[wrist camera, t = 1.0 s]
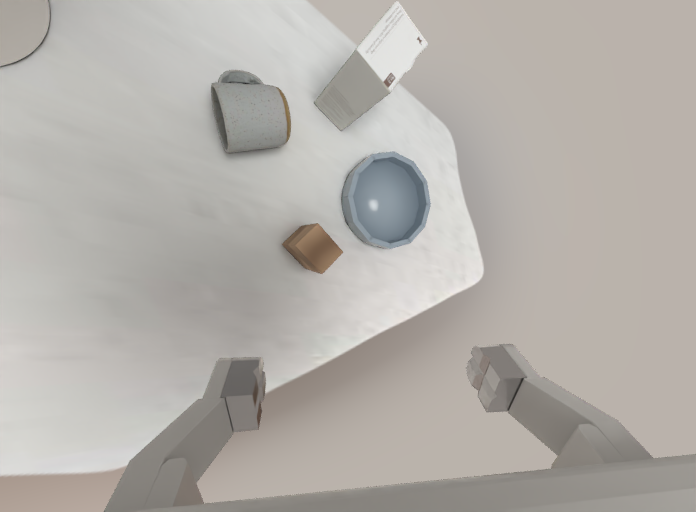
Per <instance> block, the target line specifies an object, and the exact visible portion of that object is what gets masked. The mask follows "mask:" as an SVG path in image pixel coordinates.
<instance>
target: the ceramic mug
mask: <svg viewBox="0 0 696 512" xmlns="http://www.w3.org/2000/svg"><path fill="white" fill-rule="evenodd" d="M229 82H241V83H249V84H235V83H229ZM211 95H212V103H213V109H214V115H215V119H216V123H217V128H218V132H219V135H220V139H221V142H222V144H223V147H224V149H225V151H226V152H228V153H233V152H240V151H249V150H257V149H264V148H274V147H278V146H281V145H284V144H285V143H286V142H287V141H288V139H289V137H290V132H291V119H290V112H289V107H288V104H287V101H286V98H285V96H284V94H283V93H282V91H281V90H280V89H279V88H277V87H274V86H270V85H264V84H263V82H262V81H261V80H260V79H259V78H258V77H257V76H255V75H253V74H251V73H249V72H246V71H241V70H229V71H226V72H224V73H223V74H222V75H221V76H220V78H219V80H218V83H212V85H211Z"/></svg>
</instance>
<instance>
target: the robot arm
mask: <svg viewBox="0 0 696 512" xmlns="http://www.w3.org/2000/svg"><path fill="white" fill-rule="evenodd" d="M49 21H50V9H49V2H48V0H0V66H3V65H7V64H10V63H13V62H16V61H18V60H20V59H22V58H24V57H26V56H27V55H29V54H30V53H32V52H33V51H34V50H35V49H36V48H37V47H38V46H39V45H40V43H41V42H42V41H43V39H44V37H45V35H46V33H47V30H48V27H49ZM471 354H472V356H473V357H472V358H471V359H470V360H469V361H468V363H467V367H466V369H467V376H468V379H469V381H470V383H471V385H472V386H473V387H474V388H476V389H477V390H478V398H479V399H480V402H481V403H482V405H483V407H484V409H485V410H486V412H503V411H508V413H509V414H510V415H512V416H513V417H514V418H515V419H516V420H517V421H518V422H520V423H521V424H522V425H523V426H524V427H525V428H526V429H528V430H529V431H530V432H531V433H532V434H534V435H535V436H536V437H537V438H538V439H539V440H541V442H543V443H544V444H545V445H546V446H547V447H548V448H550V449H551V450H552V451H553V452H554V453H555V454H556V455H558V456H557V458H556V459H555V461H554V462H553V464H552V467H551V469H545V470H535V471H525V472H514V473H504V474H494V475H484V476H474V477H464V478H454V479H444V480H434V481H425V482H414V483H404V484H395V485H385V486H375V487H366V488H355V489H345V490H335V491H325V492H315V493H305V494H296V495H285V496H276V497H266V498H256V499H246V500H236V501H227V502H216V503H206V504H204V502H203V499H202V497H201V494H200V492H199V489H198V487H197V484H196V482H197V481H198V480H199V479H200V477H201V476H202V475H203V473H204V472H205V471H206V469H207V468H208V467H209V465H210V464H211V463H212V461H213V460H214V459H215V458H216V456H217V455H218V454H219V452H220V451H221V450H222V448H223V447H224V446H225V444H226V443H227V442H228V440H229V439H230V438H231V436H232V435H233V432H241V431H250V430H258V429H259V425H260V419H261V413H262V409H261V402H262V401H263V400H264V396H265V386H266V378H265V372H264V371H262V370H263V365H264V363H263V358H262V357H243V358H219V359H218V361H217V362H216V364H215V367H214V370H213V372H212V375H211V378H210V380H209V383H208V386H207V388H206V391H205V393H204V396H203V399H198V400H197V401H195V402H194V403H193V404H192V405H191V406H190V407H189V408H188V409H187V410H186V411H184V412H183V413H182V414H181V415H180V416H179V417H178V418H177V419H176V420H175V421H173V422H172V423H171V424H170V425H169V426H168V427H167V428H166V429H165V430H163V431H162V432H161V433H160V434H159V435H158V436H157V437H156V438H155V439H154V440H152V441H151V442H150V443H149V444H148V445H147V446H146V447H145V448H144V449H142V450H141V451H140V452H139V453H138V454H137V455H136V456H135V457H134V458H133V459H131V460H130V462H129V464H128V466H127V468H126V470H125V472H124V473H123V475H122V477H121V479H120V481H119V483H118V485H117V487H116V489H115V491H114V493H113V495H112V497H111V499H110V501H109V503H108V504H107V506H106V508H105V510H104V512H696V454H693V455H682V456H673V457H663V458H653V457H652V456H651V455H650V454H649V453H648V452H647V451H646V450H645V448H643V446H642V445H641V444H640V443H639V442H638V441H637V440H636V439H635V438H634V437H633V436H632V435H631V434H630V433H629V432H628V431H627V430H626V429H625V427H624V426H623V425H622V424H621V423H620V422H619V421H618V420H616V419H615V418H613V417H611V416H609V415H608V414H606V413H604V412H603V411H601V410H599V409H598V408H596V407H594V406H592V405H591V404H589V403H587V402H586V401H584V400H582V399H581V398H579V397H577V396H576V395H574V394H572V393H571V392H569V391H567V390H565V389H564V388H562V387H560V386H559V385H557V384H555V383H554V382H552V381H550V380H549V379H547V378H545V377H540V376H539V374H538V373H537V372H536V371H535V370H534V368H533V367H532V366H531V365H530V364H529V362H528V361H527V360H526V359H525V358H524V356H523V355H522V354H521V353H520V351H519V350H518V349H517V348H516V347H515V346H514V345H513V344H501V345H482V346H474V347H473V348H472V351H471Z"/></svg>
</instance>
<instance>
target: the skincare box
mask: <svg viewBox="0 0 696 512" xmlns="http://www.w3.org/2000/svg"><path fill="white" fill-rule="evenodd" d="M427 46H428V43H427V42H426V40H425V39H424V38H423V36H422V35H421V33H420V32H419V30H418V29H417V28H416V26H415V25H414V24H413V22H412V21H411V19H410V18H409V16H408V15H407V13H406V12H405V10H404V9H403V7H402V6H401V5H400V3H399V2H398V1H396V2H395V3H394V4H393V5H392V6H391V7H390V8H389V9H388V11H387V12H386V13H385V14H384V15H383V16H382V17H381V19H380V20H379V21H378V22H377V23H376V24H375V26H374V27H373V28H372V30H371V31H370V32H369V33H368V34H367V36H366V37H365V38H364V39H363V40H362V42H361V43H360V44H359V45H358V47H357V48H356V50H355V51H354V52H353V54H352V55H351V56H350V58H349V59H348V60H347V61H346V63H345V64H344V65H343V66H342V68H341V69H340V70H339V72H338V73H337V74H336V75H335V77H334V78H333V79H332V80H331V82H330V83H329V84H328V85H327V87H326V88H325V89H324V91H323V92H322V93H321V94H320V96H319V97H318V98H317V100H316V101H315V102H314V103H315V104H316V106H317V107H318V108H319V109H320V110H321V111H322V112H323V113H324V114H325V115H326V116H327V117H328V118H329V119H330V120H331V121H332V122H333V123H334V124H335V125H336V126H337V128H338V129H339V130H340V131H342V130H344V129H345V128H346V127H347V126H349V125H350V124H351V123H352V122H354V121H355V120H356V119H358V118H359V117H360V116H361V115H363V114H364V113H365V112H366V111H368V110H369V109H370V108H372V107H373V106H374V105H375V104H377V103H378V102H379V101H381V100H382V99H383V98H384V97H386V96H387V95H388V94H389V93H391V92H392V90H393V89H394V87H395V86H396V85H397V83H398V82H399V81H400V79H401V78H402V77H403V75H404V74H405V73H406V72H407V71H409V70H410V68H411V67H412V66H413V63H414V61H415V60H416V59H417V57H418V56H419V55H420V54H421V52H422V51H423V50H424V49H425V48H426V47H427Z"/></svg>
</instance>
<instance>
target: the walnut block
mask: <svg viewBox="0 0 696 512" xmlns="http://www.w3.org/2000/svg"><path fill="white" fill-rule="evenodd" d="M282 245H283V246H284V247H285V248H286V249H287V250H288V251H289V252H290V253H291V254H292V255H293V256H294V257H295V259H296V260H297V261H298V262H299V263H300V264H301V265H302V266H303V267H304V268H305V269H308V270H311V271H314V272H317V273H320V274H323V273H324V272H325V271H326V270H327V269H328V267H329V266H330V265H331V264H332V263H333V262H334V261H335V260H336V259H337V258H338V257H339V256H340V255H341V254H342V253H343V251H342V250H341V249H340V248H339V247H338V246H337V244H336V243H335V242H334V241H333V240H332V239H331V238H330V236H329V235H328V234H327V233H326V232H325V231H324V230H323V228H322V227H321V226H320V225H319V224H318V223H317V224H310V225H304V226H301V227H300V228H299V229H298V230H296V231H295V232H294V233H293V234H292V235H291V236H290V237H289V238H288V239H287V240H286V241H285V242H284V243H283V244H282Z"/></svg>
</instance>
